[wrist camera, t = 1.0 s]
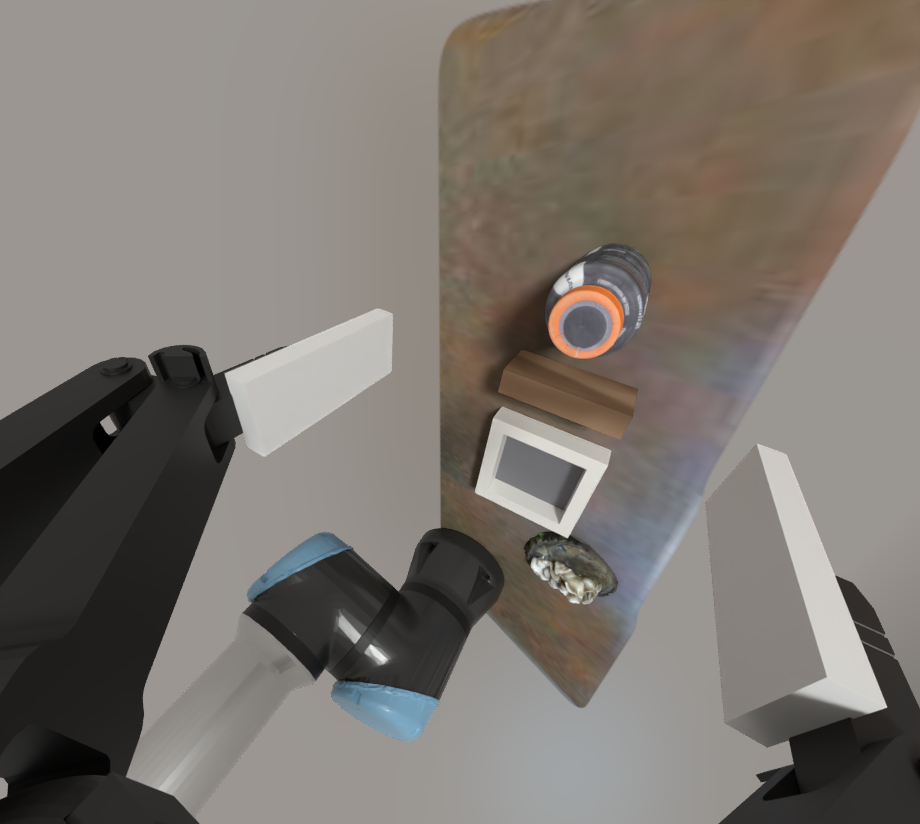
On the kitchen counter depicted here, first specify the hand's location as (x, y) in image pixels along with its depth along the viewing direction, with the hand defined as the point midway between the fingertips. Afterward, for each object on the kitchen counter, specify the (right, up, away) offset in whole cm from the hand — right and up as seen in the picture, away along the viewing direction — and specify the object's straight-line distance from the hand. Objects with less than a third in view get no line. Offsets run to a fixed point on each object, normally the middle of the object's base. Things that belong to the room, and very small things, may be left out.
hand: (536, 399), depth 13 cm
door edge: (+8, +3, +21) cm, 22 cm away
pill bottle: (+9, +10, +15) cm, 21 cm away
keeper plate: (+6, -7, +28) cm, 29 cm away
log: (+12, -20, +34) cm, 41 cm away
